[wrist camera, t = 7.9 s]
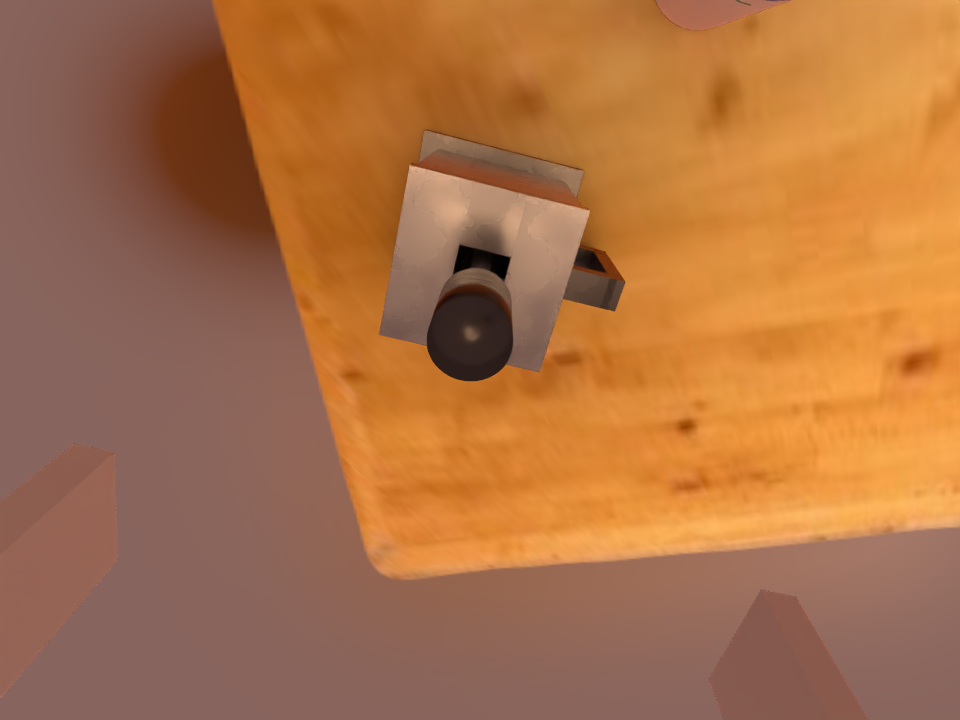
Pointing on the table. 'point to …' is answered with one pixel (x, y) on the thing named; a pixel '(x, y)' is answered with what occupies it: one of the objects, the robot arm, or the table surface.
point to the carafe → (494, 240)
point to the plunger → (473, 318)
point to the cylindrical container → (711, 11)
